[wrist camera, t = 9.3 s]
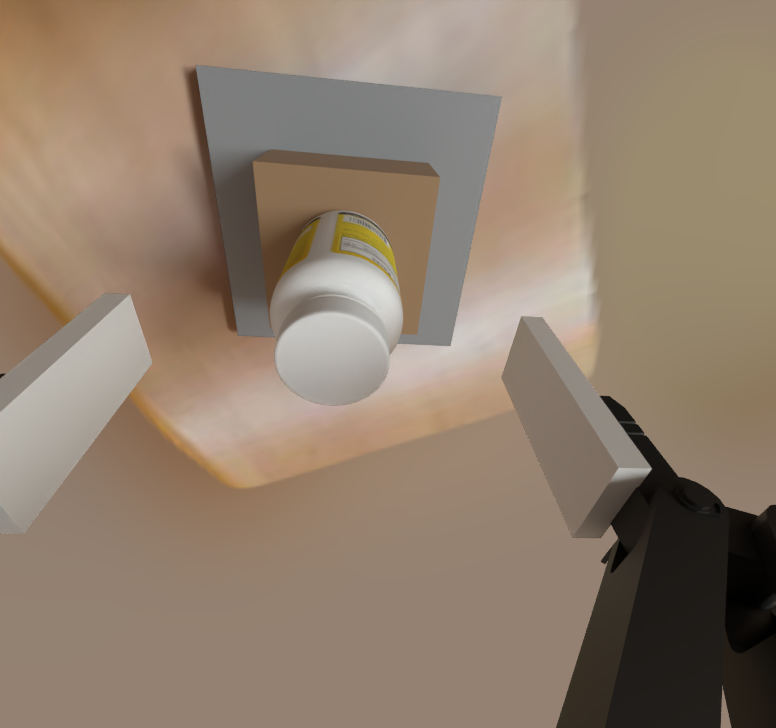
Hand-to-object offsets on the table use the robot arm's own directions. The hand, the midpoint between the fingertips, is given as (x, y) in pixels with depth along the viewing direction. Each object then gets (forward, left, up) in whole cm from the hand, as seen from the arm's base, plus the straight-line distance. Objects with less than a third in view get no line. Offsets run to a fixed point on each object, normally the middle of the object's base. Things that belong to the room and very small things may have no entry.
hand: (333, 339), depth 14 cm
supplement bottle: (0, 0, -9) cm, 9 cm away
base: (0, 0, -15) cm, 15 cm away
